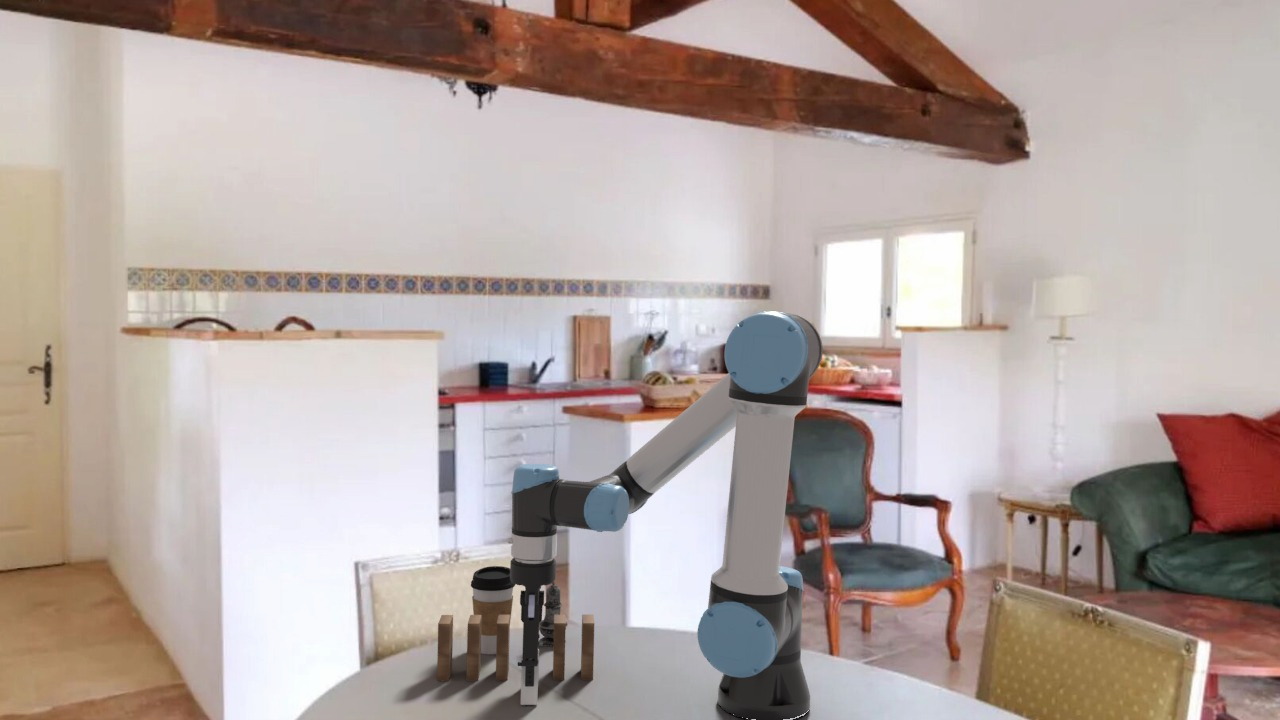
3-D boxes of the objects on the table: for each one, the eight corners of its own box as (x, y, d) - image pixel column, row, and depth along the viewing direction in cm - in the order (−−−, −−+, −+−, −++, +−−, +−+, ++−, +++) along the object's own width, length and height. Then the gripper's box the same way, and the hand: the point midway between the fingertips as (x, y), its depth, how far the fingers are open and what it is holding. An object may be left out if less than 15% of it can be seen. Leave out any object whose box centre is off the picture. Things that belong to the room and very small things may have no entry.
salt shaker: (569, 637, 187) (571, 578, 187) (564, 647, 181) (565, 585, 181) (540, 636, 188) (541, 576, 187) (534, 645, 182) (535, 584, 181)
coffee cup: (520, 644, 182) (522, 567, 182) (503, 659, 174) (504, 578, 174) (481, 639, 184) (482, 564, 184) (461, 653, 176) (463, 574, 176)
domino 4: (564, 669, 170) (565, 614, 169) (564, 679, 165) (565, 623, 164) (553, 669, 169) (554, 614, 169) (552, 679, 164) (554, 623, 164)
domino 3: (508, 669, 169) (509, 614, 168) (507, 680, 164) (508, 623, 163) (497, 670, 169) (498, 614, 168) (495, 680, 164) (496, 623, 163)
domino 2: (480, 670, 168) (481, 614, 168) (478, 680, 163) (479, 623, 163) (469, 670, 168) (470, 614, 168) (466, 680, 163) (467, 623, 163)
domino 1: (452, 670, 168) (453, 614, 167) (448, 680, 163) (449, 623, 162) (440, 670, 168) (441, 614, 167) (437, 680, 163) (438, 623, 162)
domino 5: (592, 669, 170) (593, 614, 170) (593, 679, 165) (594, 623, 165) (580, 669, 170) (582, 614, 170) (581, 679, 165) (582, 623, 165)
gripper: (513, 544, 165) (509, 673, 166) (507, 573, 146) (503, 719, 147) (556, 544, 166) (552, 673, 167) (556, 573, 147) (551, 719, 147)
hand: (529, 694), depth 157 cm, fingers open, 7 cm apart
